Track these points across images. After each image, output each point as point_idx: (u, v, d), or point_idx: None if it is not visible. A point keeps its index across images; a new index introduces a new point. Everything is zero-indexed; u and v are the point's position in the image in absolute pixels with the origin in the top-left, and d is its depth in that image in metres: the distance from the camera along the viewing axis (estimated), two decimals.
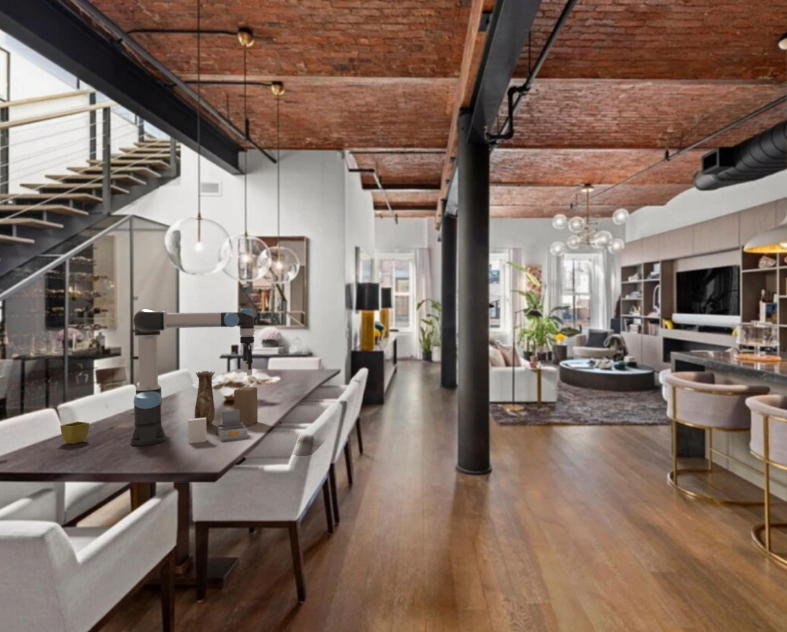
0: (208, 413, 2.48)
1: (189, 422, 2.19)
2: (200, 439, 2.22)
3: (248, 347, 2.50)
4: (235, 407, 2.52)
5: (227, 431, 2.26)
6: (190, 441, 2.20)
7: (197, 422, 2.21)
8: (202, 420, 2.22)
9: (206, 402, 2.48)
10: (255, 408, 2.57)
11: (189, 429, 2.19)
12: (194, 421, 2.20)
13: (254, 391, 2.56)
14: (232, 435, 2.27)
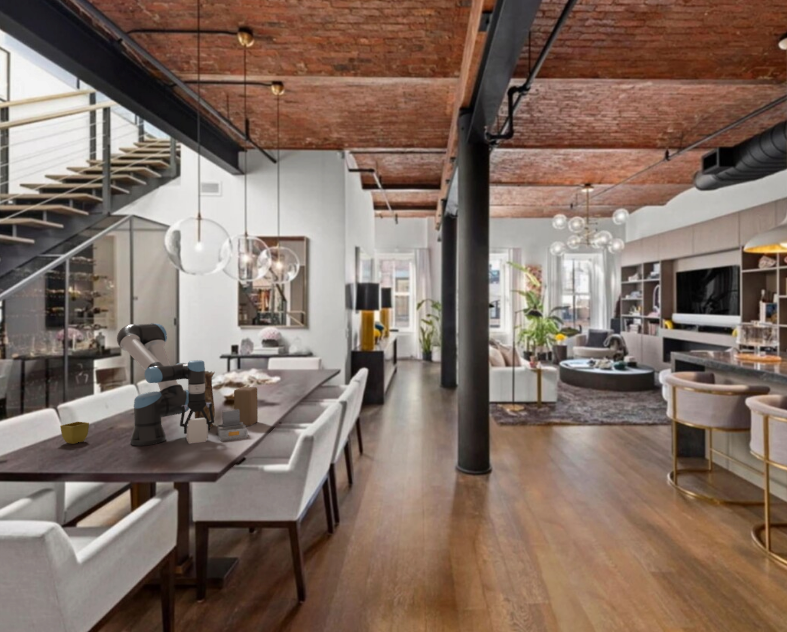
0: (208, 413, 2.48)
1: (189, 422, 2.19)
2: (200, 439, 2.22)
3: (181, 407, 2.20)
4: (235, 407, 2.52)
5: (227, 431, 2.26)
6: (190, 441, 2.20)
7: (197, 422, 2.21)
8: (202, 420, 2.22)
9: (206, 402, 2.48)
10: (255, 408, 2.57)
11: (189, 429, 2.19)
12: (194, 421, 2.20)
13: (254, 391, 2.56)
14: (232, 435, 2.27)
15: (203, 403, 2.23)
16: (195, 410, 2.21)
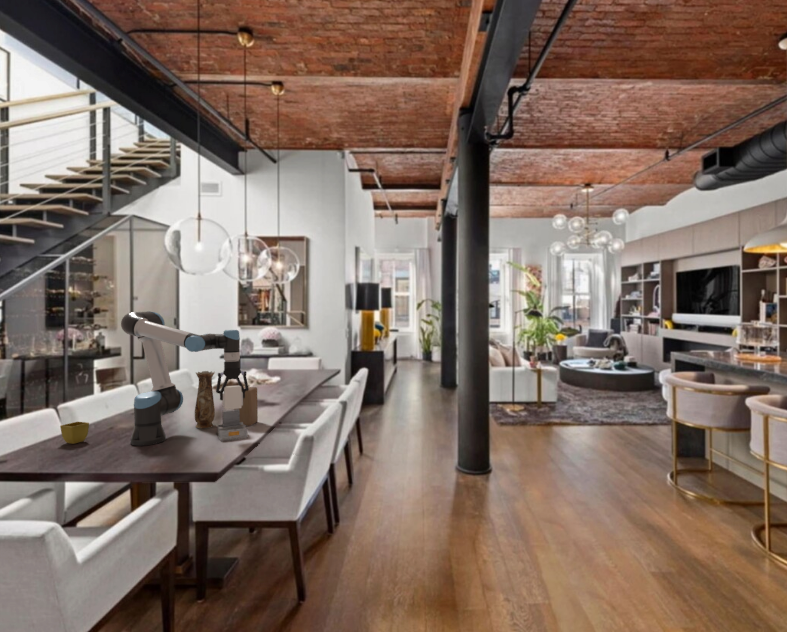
0: (208, 413, 2.48)
1: (225, 389, 2.26)
2: (236, 406, 2.29)
3: None
4: None
5: (227, 431, 2.26)
6: (226, 407, 2.27)
7: (233, 389, 2.28)
8: (237, 387, 2.29)
9: (206, 402, 2.48)
10: (255, 408, 2.57)
11: (225, 396, 2.26)
12: (230, 388, 2.27)
13: (254, 391, 2.56)
14: (232, 435, 2.27)
15: (238, 371, 2.30)
16: (230, 377, 2.28)
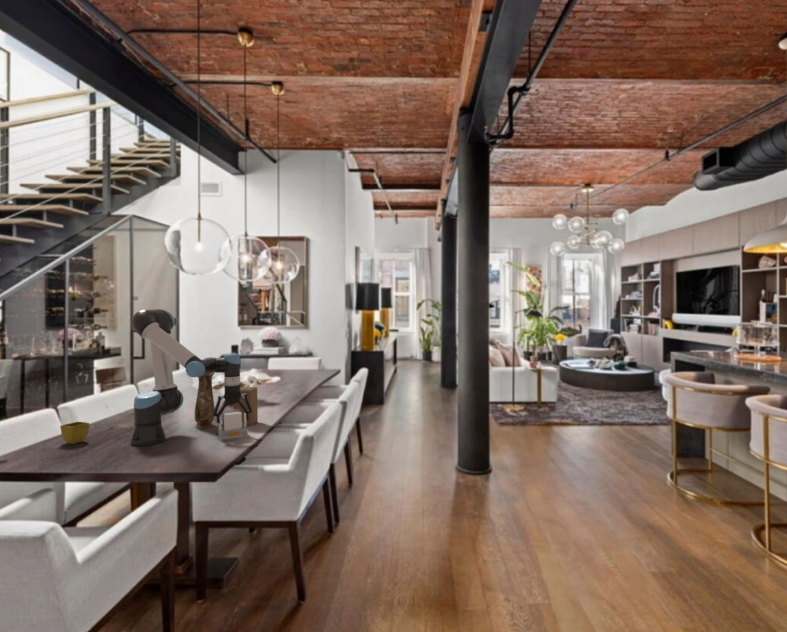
0: (208, 413, 2.48)
1: (225, 416, 2.27)
2: None
3: None
4: (235, 407, 2.52)
5: (227, 431, 2.26)
6: None
7: (233, 416, 2.28)
8: (238, 414, 2.29)
9: (206, 402, 2.48)
10: (255, 408, 2.57)
11: (225, 423, 2.27)
12: (230, 415, 2.28)
13: (254, 391, 2.56)
14: (232, 435, 2.27)
15: (238, 395, 2.30)
16: (231, 402, 2.28)
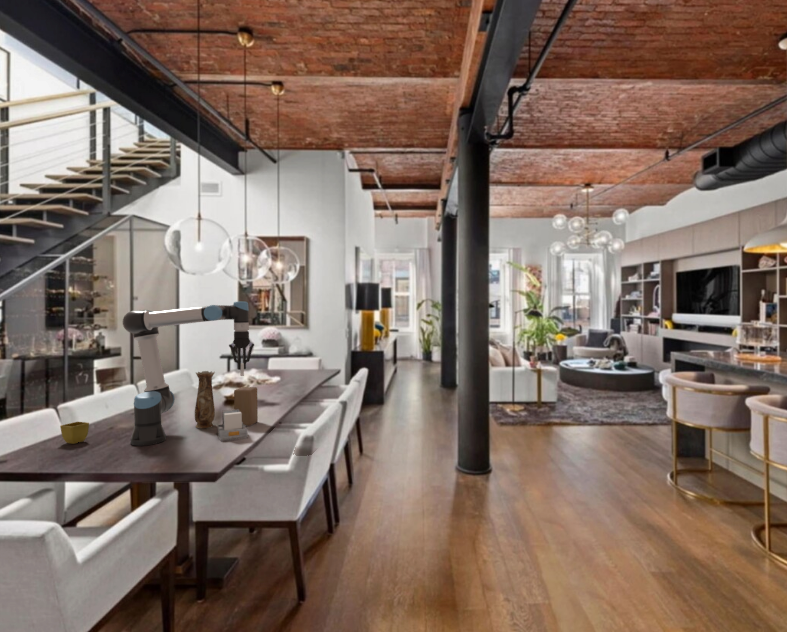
0: (208, 413, 2.48)
1: (225, 416, 2.27)
2: None
3: None
4: (235, 407, 2.52)
5: (227, 431, 2.26)
6: None
7: (233, 416, 2.28)
8: (238, 414, 2.29)
9: (206, 402, 2.48)
10: (255, 408, 2.57)
11: (225, 423, 2.27)
12: (230, 415, 2.28)
13: (254, 391, 2.56)
14: (232, 435, 2.27)
15: (247, 341, 2.41)
16: None
